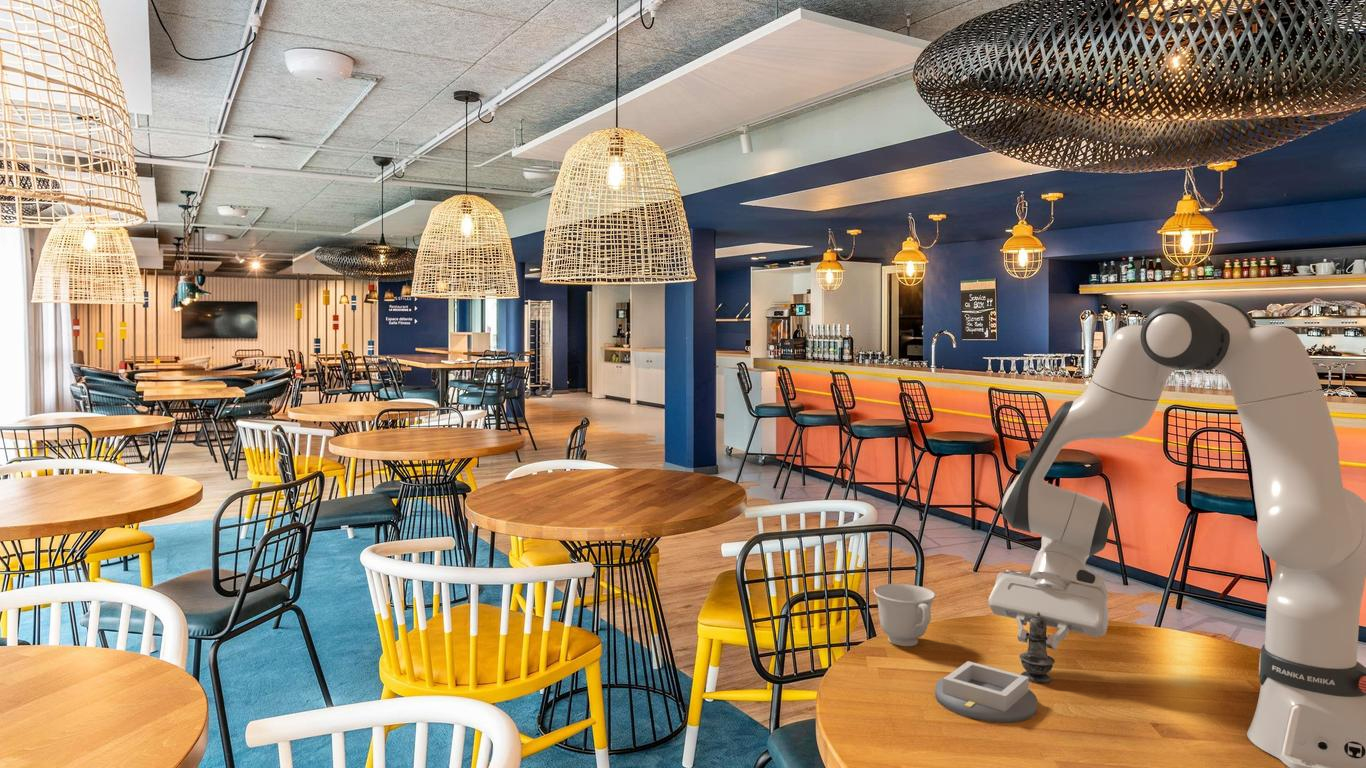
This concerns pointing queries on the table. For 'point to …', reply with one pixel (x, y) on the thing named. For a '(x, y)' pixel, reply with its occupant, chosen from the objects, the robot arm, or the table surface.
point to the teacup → (904, 612)
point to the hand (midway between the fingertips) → (1036, 643)
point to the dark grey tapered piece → (1037, 653)
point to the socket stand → (987, 694)
